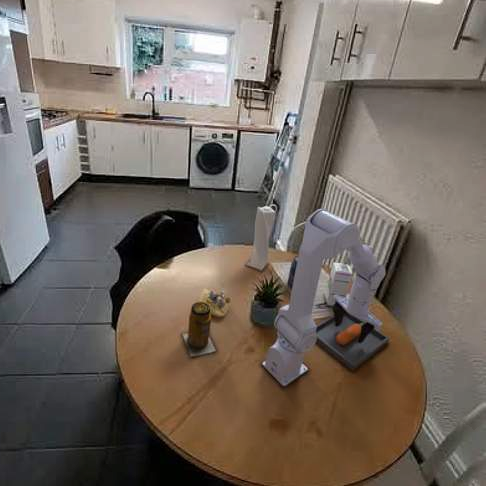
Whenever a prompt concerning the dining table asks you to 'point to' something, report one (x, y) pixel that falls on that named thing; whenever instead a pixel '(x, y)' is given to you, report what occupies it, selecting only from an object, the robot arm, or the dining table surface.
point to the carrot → (349, 334)
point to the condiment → (199, 330)
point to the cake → (216, 301)
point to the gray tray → (352, 350)
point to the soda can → (292, 272)
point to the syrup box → (338, 282)
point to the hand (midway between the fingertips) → (348, 333)
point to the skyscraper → (262, 237)
